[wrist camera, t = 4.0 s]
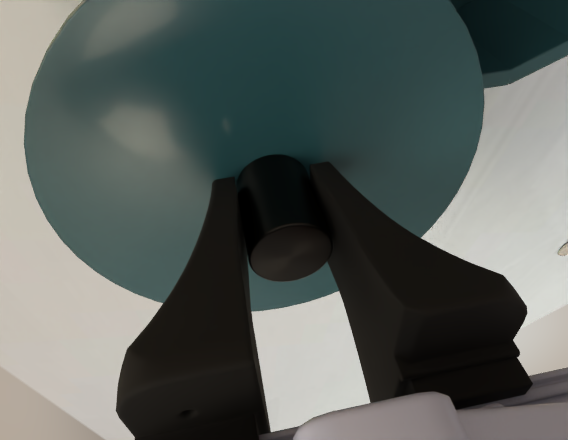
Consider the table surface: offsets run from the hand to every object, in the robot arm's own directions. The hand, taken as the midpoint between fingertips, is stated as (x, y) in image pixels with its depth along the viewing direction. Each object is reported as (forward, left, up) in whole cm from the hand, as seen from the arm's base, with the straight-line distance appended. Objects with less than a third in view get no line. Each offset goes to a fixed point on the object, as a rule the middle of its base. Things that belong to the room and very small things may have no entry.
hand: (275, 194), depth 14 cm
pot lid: (0, 0, -1) cm, 1 cm away
